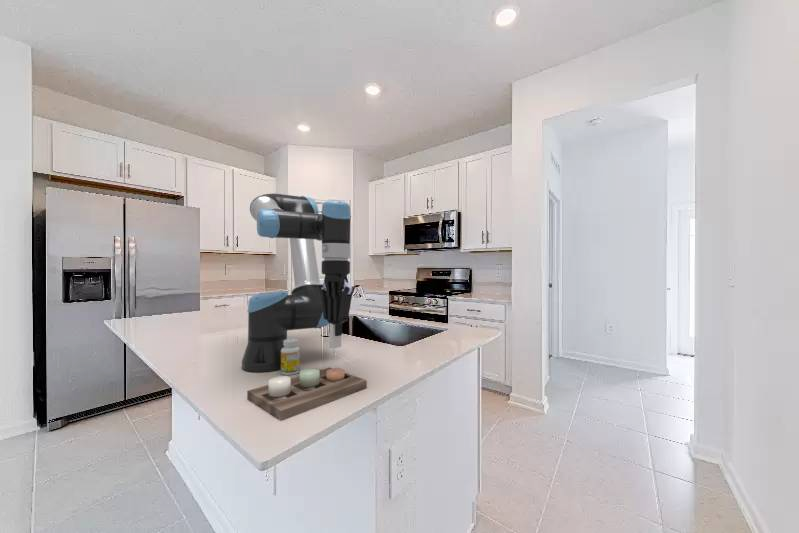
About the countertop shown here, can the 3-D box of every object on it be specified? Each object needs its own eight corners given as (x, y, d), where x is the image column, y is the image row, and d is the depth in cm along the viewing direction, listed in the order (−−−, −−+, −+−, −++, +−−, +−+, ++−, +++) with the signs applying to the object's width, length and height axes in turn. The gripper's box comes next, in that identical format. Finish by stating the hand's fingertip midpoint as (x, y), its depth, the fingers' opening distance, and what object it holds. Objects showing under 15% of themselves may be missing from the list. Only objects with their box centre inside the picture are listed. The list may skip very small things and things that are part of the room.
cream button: (264, 392, 75) (264, 379, 75) (284, 387, 79) (284, 374, 79) (274, 398, 72) (274, 385, 72) (294, 392, 76) (294, 379, 76)
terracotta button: (322, 382, 87) (322, 371, 87) (337, 377, 91) (337, 366, 91) (333, 386, 84) (333, 375, 84) (348, 381, 87) (348, 370, 87)
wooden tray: (247, 399, 78) (247, 390, 78) (329, 374, 96) (329, 367, 96) (280, 420, 67) (280, 410, 67) (366, 387, 85) (366, 380, 85)
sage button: (295, 383, 81) (295, 371, 81) (312, 378, 85) (312, 367, 85) (306, 388, 78) (306, 375, 78) (323, 383, 82) (323, 371, 81)
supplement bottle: (300, 374, 96) (300, 341, 96) (281, 376, 93) (281, 343, 93) (298, 368, 101) (298, 337, 100) (280, 370, 98) (280, 339, 98)
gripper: (310, 259, 89) (309, 345, 89) (339, 259, 80) (339, 354, 80) (332, 259, 94) (332, 340, 94) (362, 259, 86) (362, 348, 86)
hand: (335, 347), depth 87 cm, fingers closed
